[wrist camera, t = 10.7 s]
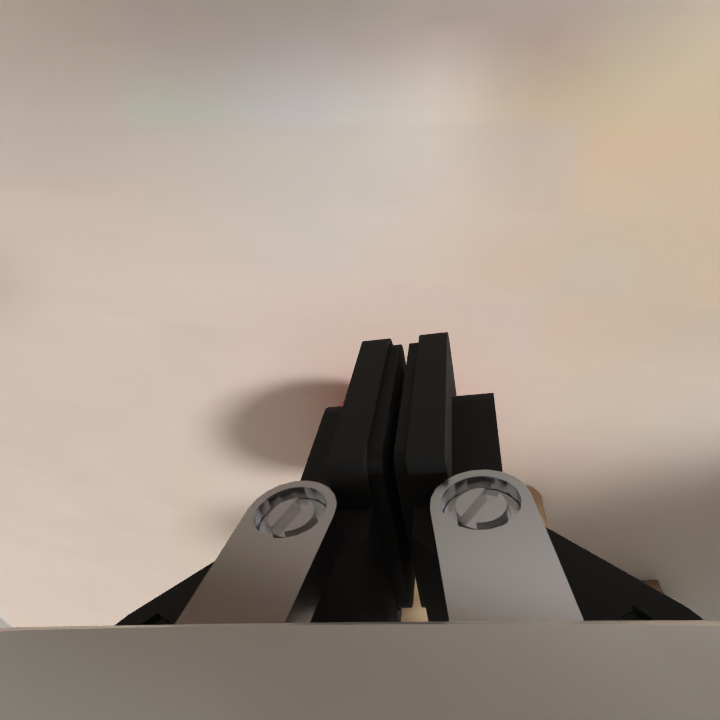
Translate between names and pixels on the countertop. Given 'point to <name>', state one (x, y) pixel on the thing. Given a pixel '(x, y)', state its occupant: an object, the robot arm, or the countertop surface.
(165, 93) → the countertop surface
